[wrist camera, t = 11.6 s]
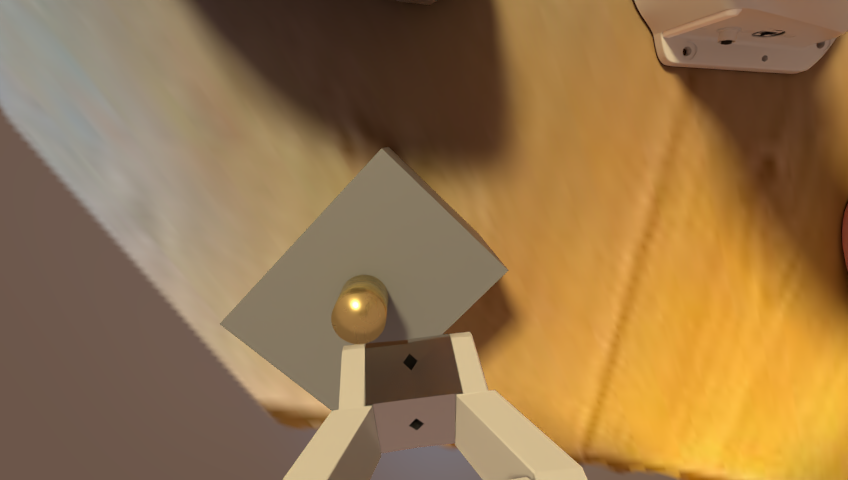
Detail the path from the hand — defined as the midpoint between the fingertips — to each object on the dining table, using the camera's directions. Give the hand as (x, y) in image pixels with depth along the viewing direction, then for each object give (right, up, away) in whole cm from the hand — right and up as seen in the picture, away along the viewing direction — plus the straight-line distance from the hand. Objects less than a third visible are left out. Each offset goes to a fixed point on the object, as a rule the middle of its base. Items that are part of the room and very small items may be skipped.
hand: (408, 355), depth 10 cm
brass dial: (-4, -2, +21) cm, 21 cm away
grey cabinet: (-5, +1, +34) cm, 34 cm away
